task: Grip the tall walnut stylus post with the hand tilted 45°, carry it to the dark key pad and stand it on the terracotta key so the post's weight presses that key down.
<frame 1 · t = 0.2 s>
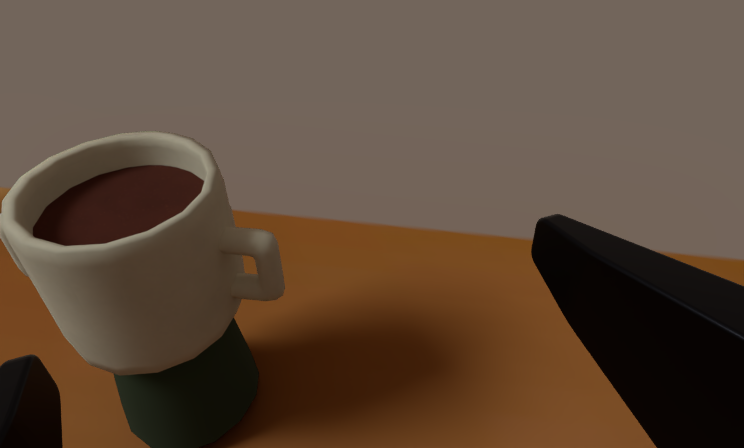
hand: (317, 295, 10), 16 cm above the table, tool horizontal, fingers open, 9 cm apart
character mug: (197, 399, 27), on the table
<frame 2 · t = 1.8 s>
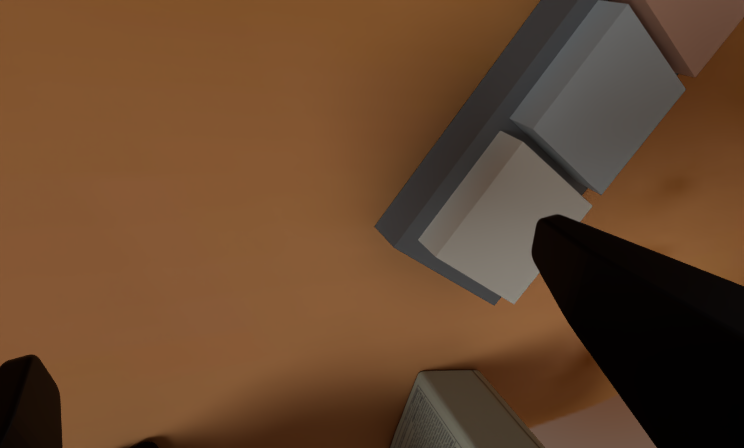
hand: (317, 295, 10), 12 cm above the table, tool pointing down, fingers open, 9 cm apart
skincare box: (429, 407, 32), on the table
key pad: (555, 88, 25), on the table
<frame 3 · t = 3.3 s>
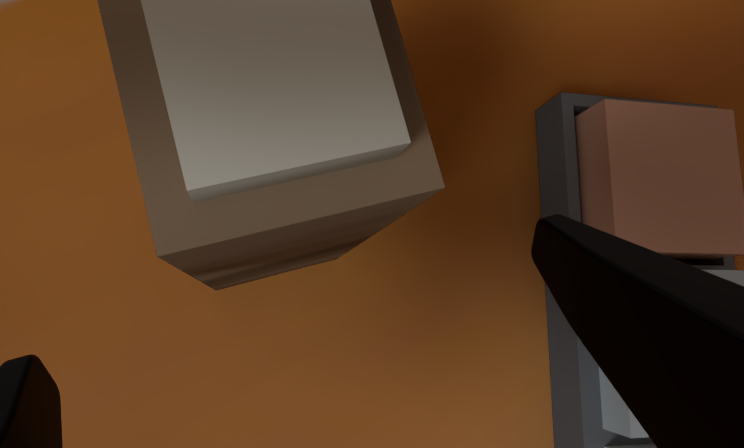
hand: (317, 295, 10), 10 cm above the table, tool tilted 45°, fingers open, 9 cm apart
key pad: (628, 344, 22), on the table
walnut stylus post: (263, 215, 20), on the table
terracotta key: (658, 183, 21), point 2 cm above the table, slide at 0.0 cm
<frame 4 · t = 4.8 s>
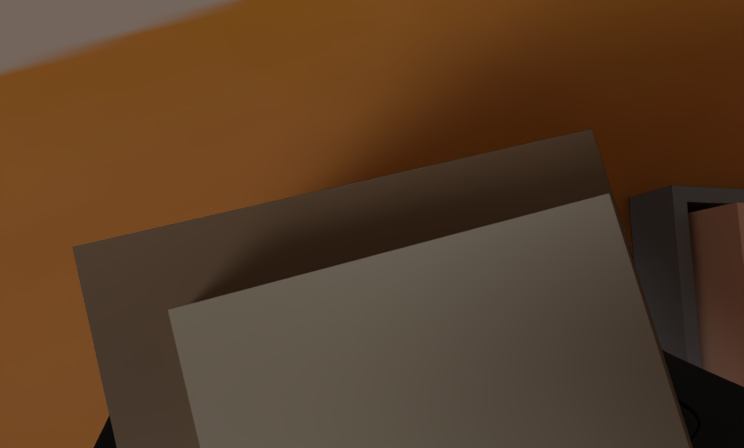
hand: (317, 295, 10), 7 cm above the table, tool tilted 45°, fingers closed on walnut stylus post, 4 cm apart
walnut stylus post: (303, 346, 16), on the table, touching gripper
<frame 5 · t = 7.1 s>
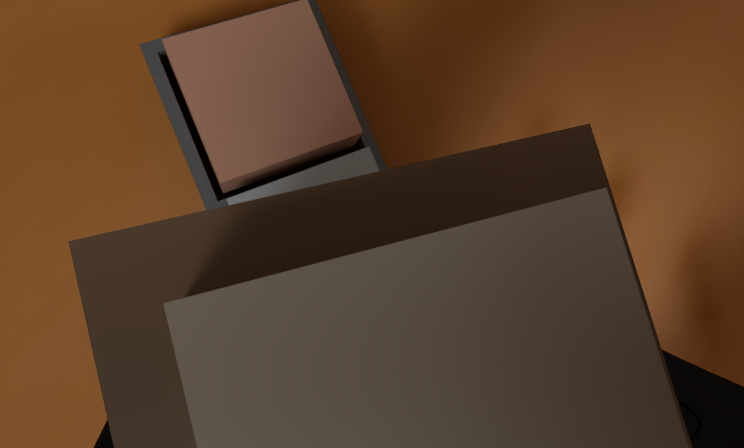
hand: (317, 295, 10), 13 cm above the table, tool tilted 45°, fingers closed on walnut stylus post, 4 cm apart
key pad: (318, 250, 23), on the table
walnut stylus post: (302, 344, 16), point 7 cm above the table, touching gripper
terracotta key: (264, 96, 21), point 2 cm above the table, slide at 0.0 cm
when the fingers open (11 cm above the table, at t = 9.5 s): walnut stylus post drops 2 cm, resting on terracotta key.
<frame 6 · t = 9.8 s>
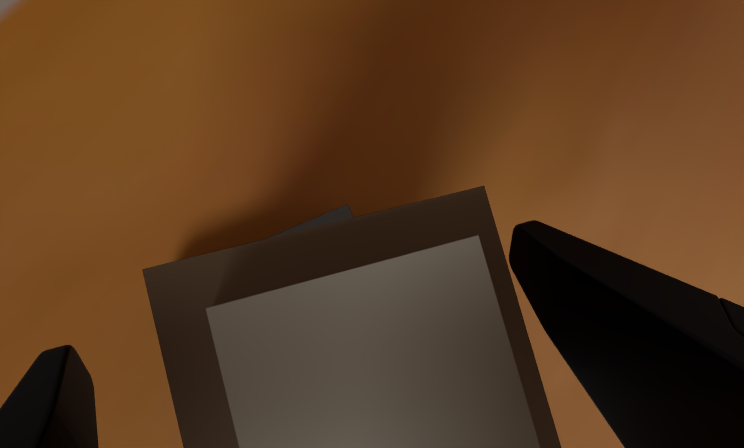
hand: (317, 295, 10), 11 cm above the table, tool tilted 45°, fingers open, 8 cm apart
walnut stylus post: (297, 340, 18), point 2 cm above the table, touching terracotta key
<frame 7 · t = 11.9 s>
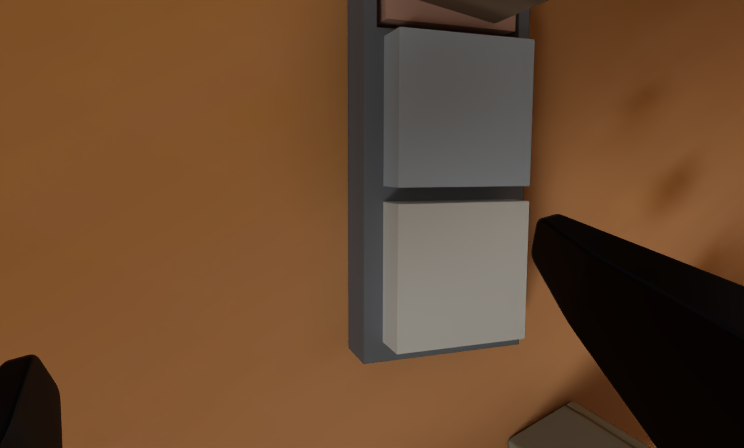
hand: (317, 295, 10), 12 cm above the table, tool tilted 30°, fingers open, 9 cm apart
key pad: (427, 118, 23), on the table
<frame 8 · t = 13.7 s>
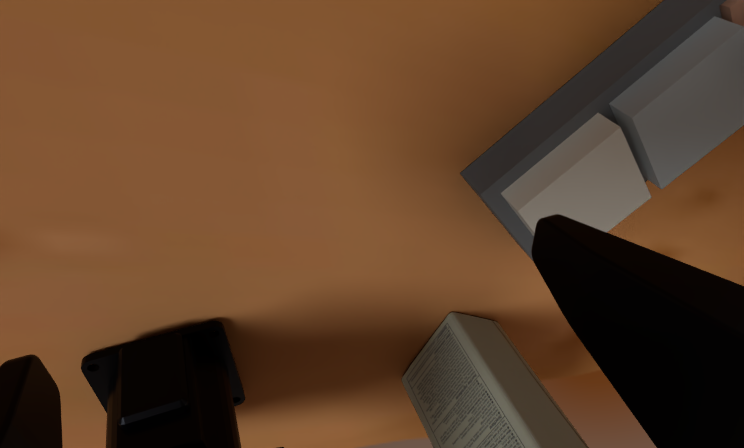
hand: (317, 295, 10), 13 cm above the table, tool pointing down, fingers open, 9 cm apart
skincare box: (446, 345, 35), on the table
key pad: (644, 85, 27), on the table
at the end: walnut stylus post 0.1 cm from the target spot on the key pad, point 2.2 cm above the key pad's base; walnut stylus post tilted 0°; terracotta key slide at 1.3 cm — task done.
